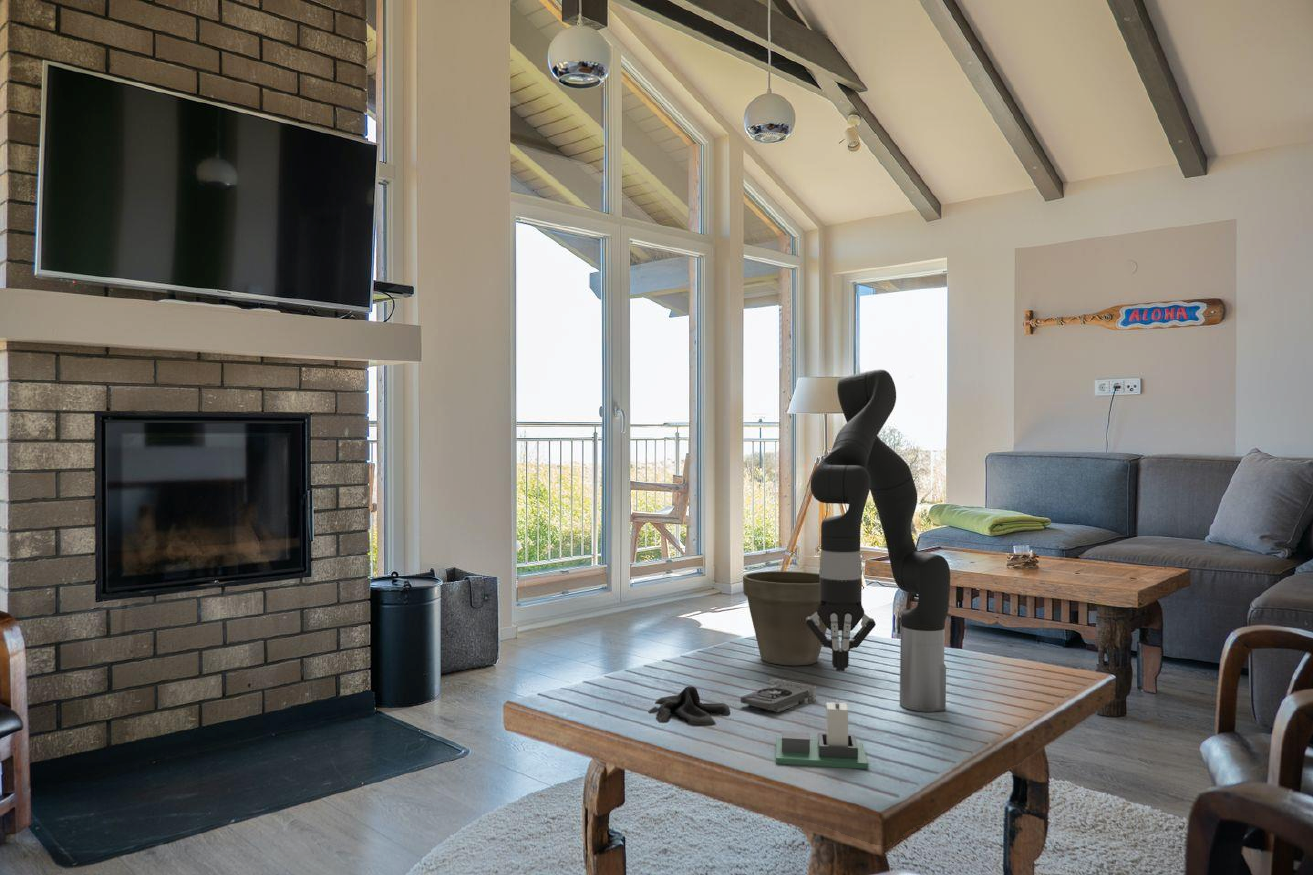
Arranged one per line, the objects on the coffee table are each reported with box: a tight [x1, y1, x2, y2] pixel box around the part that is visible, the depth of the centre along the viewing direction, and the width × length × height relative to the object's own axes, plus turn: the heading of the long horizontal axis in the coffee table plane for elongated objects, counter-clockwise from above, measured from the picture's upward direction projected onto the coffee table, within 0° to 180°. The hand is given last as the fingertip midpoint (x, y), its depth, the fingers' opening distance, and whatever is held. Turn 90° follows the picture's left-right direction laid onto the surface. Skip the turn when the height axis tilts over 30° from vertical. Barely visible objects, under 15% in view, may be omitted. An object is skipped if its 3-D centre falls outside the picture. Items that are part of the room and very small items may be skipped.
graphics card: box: [740, 678, 817, 713], centre depth 208 cm, size 17×4×12 cm
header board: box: [775, 730, 869, 770], centre depth 174 cm, size 16×11×4 cm
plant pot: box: [742, 570, 828, 667], centre depth 247 cm, size 25×25×22 cm
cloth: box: [647, 685, 731, 726], centre depth 199 cm, size 22×19×6 cm
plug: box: [825, 699, 849, 746], centre depth 173 cm, size 4×4×9 cm
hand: (840, 669), depth 173 cm, fingers closed
